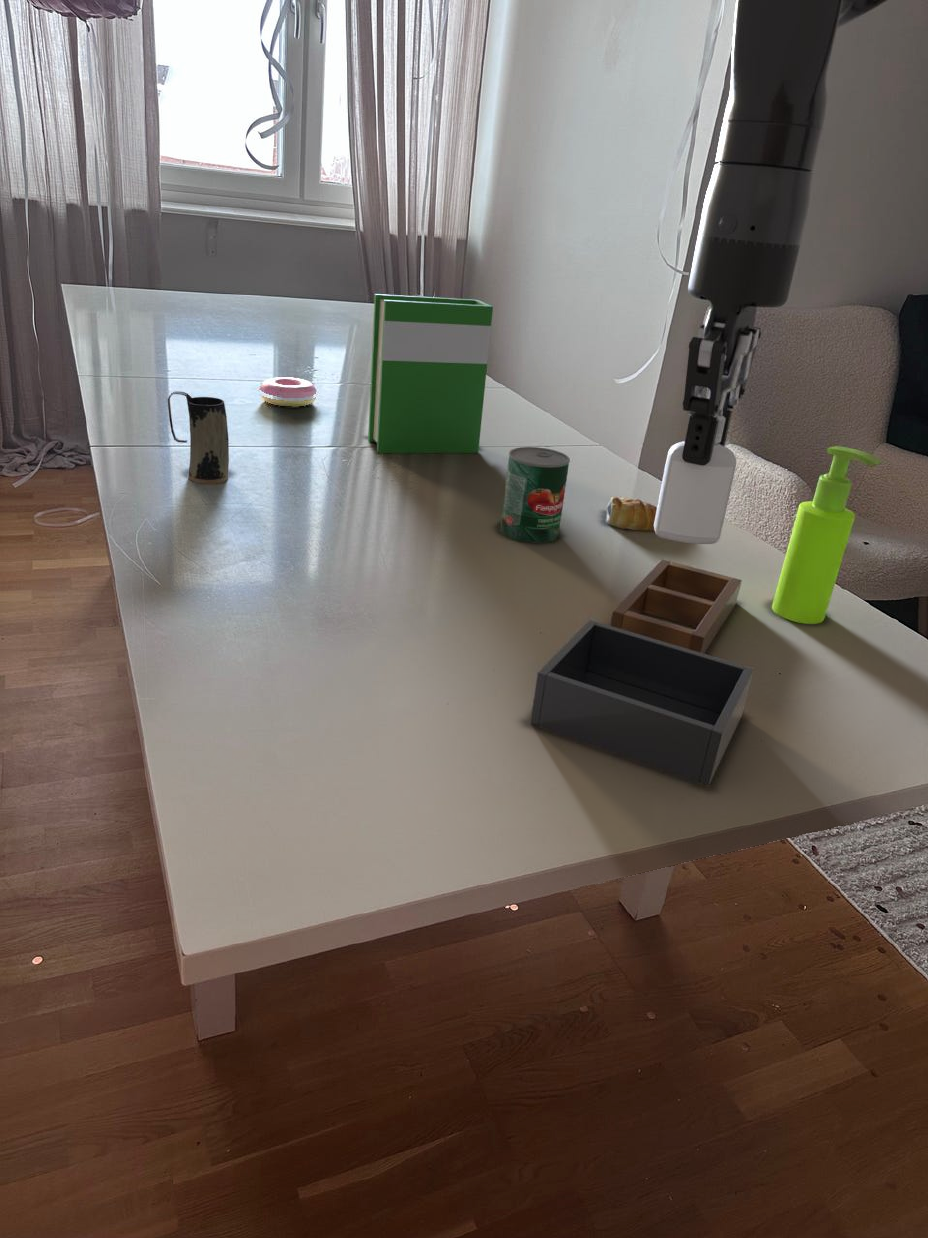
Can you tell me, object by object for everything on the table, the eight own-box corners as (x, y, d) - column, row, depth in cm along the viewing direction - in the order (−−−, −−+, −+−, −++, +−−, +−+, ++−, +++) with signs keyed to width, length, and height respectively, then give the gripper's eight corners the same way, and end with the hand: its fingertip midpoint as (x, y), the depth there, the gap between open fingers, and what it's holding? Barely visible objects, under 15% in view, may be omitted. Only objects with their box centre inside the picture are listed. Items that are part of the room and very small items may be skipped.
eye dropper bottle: (706, 552, 75) (737, 410, 70) (645, 534, 78) (671, 395, 72) (725, 539, 78) (756, 402, 73) (666, 522, 81) (692, 389, 76)
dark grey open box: (740, 721, 82) (754, 668, 79) (706, 792, 71) (722, 733, 69) (580, 670, 88) (589, 619, 85) (529, 728, 77) (537, 672, 75)
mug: (231, 472, 132) (229, 390, 126) (227, 484, 127) (225, 399, 122) (175, 470, 131) (171, 387, 125) (169, 481, 126) (164, 396, 120)
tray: (735, 607, 105) (742, 579, 103) (696, 668, 90) (704, 637, 89) (656, 585, 108) (661, 558, 107) (607, 640, 94) (612, 611, 92)
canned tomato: (546, 551, 115) (558, 468, 110) (490, 537, 118) (499, 456, 113) (566, 533, 122) (578, 454, 117) (512, 520, 124) (522, 443, 120)
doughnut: (326, 408, 172) (326, 386, 170) (271, 410, 166) (271, 388, 164) (303, 394, 180) (303, 373, 178) (250, 396, 174) (250, 375, 172)
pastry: (666, 521, 130) (672, 496, 128) (673, 538, 124) (679, 512, 122) (602, 514, 130) (606, 489, 129) (606, 531, 124) (611, 505, 122)
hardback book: (377, 452, 148) (385, 300, 137) (368, 440, 154) (374, 293, 144) (478, 452, 154) (493, 306, 143) (464, 440, 160) (478, 299, 149)
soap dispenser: (816, 636, 100) (868, 461, 91) (761, 612, 104) (806, 444, 95) (840, 623, 103) (893, 454, 95) (786, 601, 108) (832, 438, 99)
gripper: (782, 241, 60) (726, 486, 68) (815, 239, 71) (764, 449, 79) (674, 229, 63) (632, 465, 70) (722, 229, 74) (682, 433, 82)
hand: (702, 456), depth 75 cm, fingers closed on eye dropper bottle, 4 cm apart
